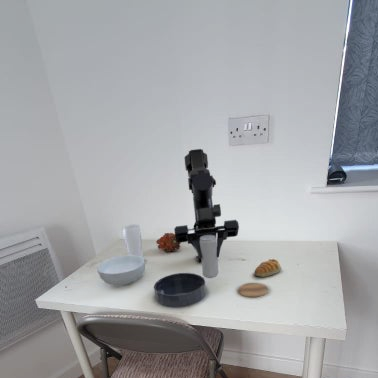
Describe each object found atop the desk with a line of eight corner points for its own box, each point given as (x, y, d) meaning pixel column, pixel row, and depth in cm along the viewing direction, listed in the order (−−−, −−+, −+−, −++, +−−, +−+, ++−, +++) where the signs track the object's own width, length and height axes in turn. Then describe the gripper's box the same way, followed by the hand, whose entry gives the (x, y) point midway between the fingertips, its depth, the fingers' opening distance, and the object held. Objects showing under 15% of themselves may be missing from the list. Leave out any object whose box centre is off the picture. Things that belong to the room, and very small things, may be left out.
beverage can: (218, 271, 101) (215, 233, 95) (219, 277, 97) (216, 239, 91) (202, 272, 101) (199, 235, 95) (203, 279, 97) (199, 241, 91)
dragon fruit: (182, 256, 139) (160, 257, 146) (187, 239, 142) (165, 241, 149) (171, 244, 133) (149, 246, 139) (177, 227, 136) (155, 230, 142)
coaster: (235, 286, 106) (235, 285, 106) (261, 282, 107) (261, 281, 107) (243, 299, 98) (243, 298, 98) (272, 294, 99) (272, 293, 99)
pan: (154, 287, 112) (152, 277, 110) (200, 280, 113) (199, 269, 111) (157, 311, 97) (155, 299, 95) (210, 302, 99) (209, 290, 97)
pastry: (264, 280, 108) (264, 269, 106) (249, 274, 113) (249, 264, 111) (282, 270, 113) (283, 260, 111) (267, 266, 117) (267, 256, 116)
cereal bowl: (92, 289, 116) (86, 271, 112) (117, 270, 129) (113, 253, 125) (133, 293, 109) (128, 274, 106) (155, 273, 123) (152, 255, 119)
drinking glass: (126, 265, 133) (118, 229, 126) (134, 258, 138) (127, 223, 131) (140, 266, 130) (133, 229, 123) (148, 259, 136) (142, 224, 128)
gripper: (170, 198, 91) (175, 249, 87) (236, 191, 91) (244, 242, 87) (174, 218, 102) (178, 265, 98) (233, 212, 101) (240, 258, 97)
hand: (209, 257), depth 95 cm, fingers closed on beverage can, 5 cm apart
